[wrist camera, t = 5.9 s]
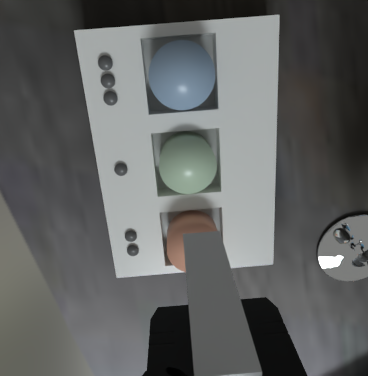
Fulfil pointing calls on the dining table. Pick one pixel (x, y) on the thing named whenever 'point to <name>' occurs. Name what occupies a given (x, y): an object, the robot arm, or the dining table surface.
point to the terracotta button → (184, 225)
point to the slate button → (181, 75)
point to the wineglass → (345, 249)
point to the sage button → (187, 162)
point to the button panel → (177, 122)
